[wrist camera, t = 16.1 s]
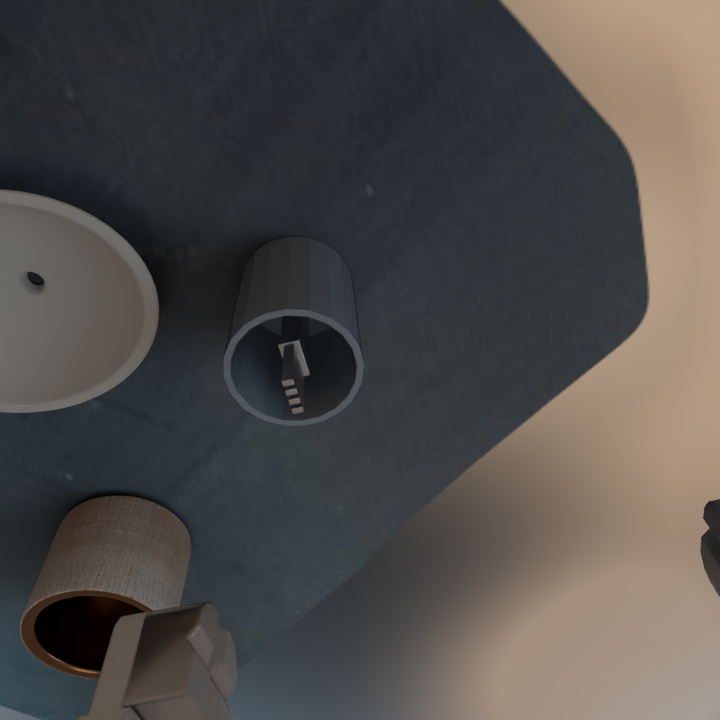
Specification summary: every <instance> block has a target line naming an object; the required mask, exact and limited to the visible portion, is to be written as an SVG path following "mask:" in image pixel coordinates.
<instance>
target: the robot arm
mask: <svg viewBox="0 0 720 720" xmlns="http://www.w3.org/2000/svg"><path fill="white" fill-rule="evenodd" d="M703 519H704V520H705V522H706V523H707V524H708V526H709V528H710V529H709V530H708V531H707V532H706V533H705V534H704V535H703V536H702V537H701V556H702V560H703V564H704V569H705V571H706V573H707V575H708V577H709V580H710V582H711V583H712V585H713V587H714V589H715V590H716V592H717V594H718V595H719V596H720V499H718V500H714V501H709V502H708V503H707V505H706V506H705V508H704V517H703ZM218 614H219V613H218V611H217V610H216V608H215V606H214V605H213V603H212V601H209V602H202V603H196V604H190V605H184V606H178V607H172V608H166V609H160V610H155V611H149V612H144V613H138V614H133V615H128V616H122V617H121V618H120V619H119V620H118V622H117V623H116V625H115V626H114V629H113V632H112V636H111V639H110V643H109V646H108V650H107V653H106V657H105V660H104V663H103V667H102V670H101V674H100V677H99V681H98V684H97V687H96V691H95V694H94V698H93V701H92V705H91V708H90V711H89V714H87V715H83V716H80V717H79V718H78V719H77V720H232V717H233V713H232V711H231V710H230V708H229V706H228V704H227V703H226V700H227V698H228V697H229V695H230V694H231V693H232V691H233V690H234V688H235V687H236V677H237V676H236V675H237V662H236V650H235V647H234V643H233V640H232V637H231V635H230V633H229V631H228V630H227V629H226V628H224V627H222V626H220V625H218V624H217V622H218Z"/></svg>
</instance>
